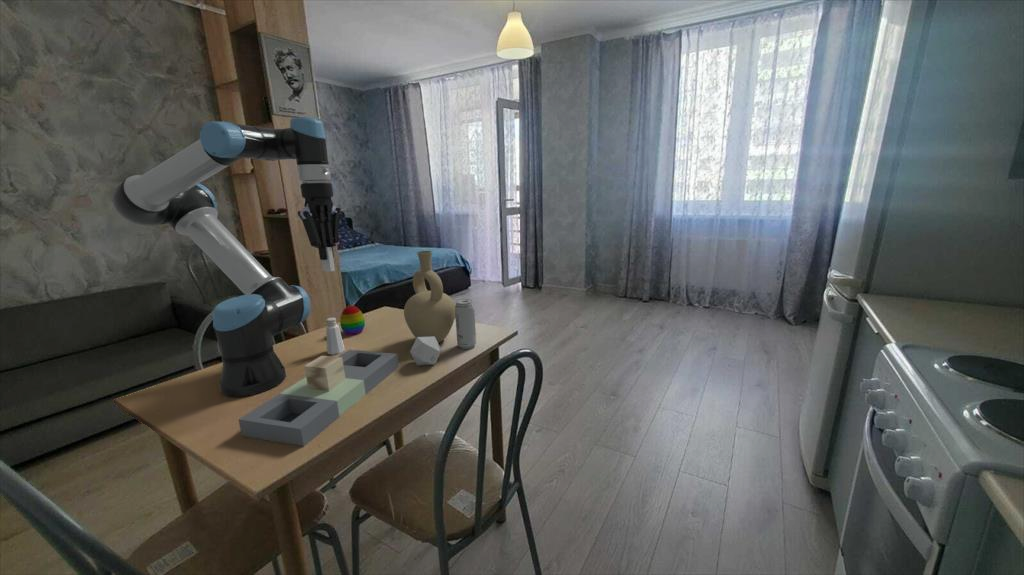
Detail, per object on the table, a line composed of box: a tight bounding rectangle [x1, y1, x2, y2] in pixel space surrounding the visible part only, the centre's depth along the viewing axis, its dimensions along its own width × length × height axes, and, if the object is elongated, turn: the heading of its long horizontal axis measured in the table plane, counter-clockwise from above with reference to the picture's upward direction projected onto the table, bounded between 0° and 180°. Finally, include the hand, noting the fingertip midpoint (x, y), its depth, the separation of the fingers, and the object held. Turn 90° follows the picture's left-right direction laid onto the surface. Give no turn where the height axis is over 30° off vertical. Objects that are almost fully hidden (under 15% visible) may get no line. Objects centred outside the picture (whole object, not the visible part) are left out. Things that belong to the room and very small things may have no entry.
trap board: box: [238, 349, 400, 447], centre depth 102 cm, size 16×37×4 cm, turn 165°
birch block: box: [304, 355, 346, 391], centre depth 99 cm, size 6×6×6 cm
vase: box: [403, 250, 456, 344], centre depth 132 cm, size 17×17×30 cm
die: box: [409, 336, 442, 366], centre depth 118 cm, size 8×9×10 cm
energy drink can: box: [455, 298, 477, 350], centre depth 128 cm, size 6×6×15 cm
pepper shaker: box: [325, 317, 346, 356], centre depth 128 cm, size 5×5×11 cm
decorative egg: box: [339, 304, 366, 336], centre depth 145 cm, size 8×8×10 cm
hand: (329, 270), depth 112 cm, fingers closed
